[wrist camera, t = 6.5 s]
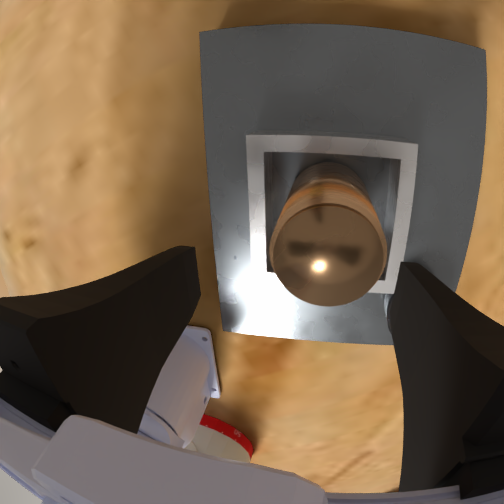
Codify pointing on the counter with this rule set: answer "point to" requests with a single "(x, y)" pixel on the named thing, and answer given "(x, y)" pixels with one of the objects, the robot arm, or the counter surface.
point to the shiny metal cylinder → (328, 238)
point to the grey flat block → (338, 158)
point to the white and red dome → (220, 440)
